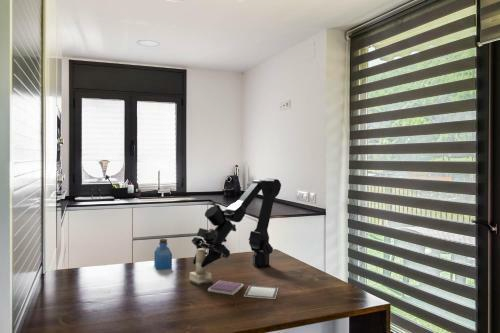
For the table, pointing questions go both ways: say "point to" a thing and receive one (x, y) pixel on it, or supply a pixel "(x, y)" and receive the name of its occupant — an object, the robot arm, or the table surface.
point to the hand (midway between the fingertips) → (197, 265)
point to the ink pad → (226, 287)
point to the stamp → (200, 269)
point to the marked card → (261, 292)
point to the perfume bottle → (163, 256)
